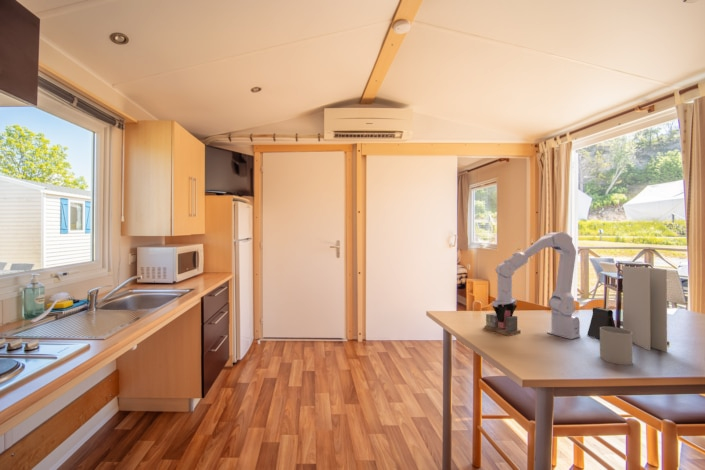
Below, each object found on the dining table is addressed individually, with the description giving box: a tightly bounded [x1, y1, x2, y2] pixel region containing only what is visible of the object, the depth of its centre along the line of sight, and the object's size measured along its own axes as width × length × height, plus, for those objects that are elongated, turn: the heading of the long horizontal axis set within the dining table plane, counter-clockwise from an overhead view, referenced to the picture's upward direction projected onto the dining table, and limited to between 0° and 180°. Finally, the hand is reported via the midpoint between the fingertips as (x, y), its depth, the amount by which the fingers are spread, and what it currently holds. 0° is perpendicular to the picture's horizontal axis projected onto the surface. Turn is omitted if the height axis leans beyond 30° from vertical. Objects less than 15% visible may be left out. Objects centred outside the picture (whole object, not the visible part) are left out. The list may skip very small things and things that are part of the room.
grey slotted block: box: [483, 312, 521, 337], centre depth 133 cm, size 12×8×7 cm, turn 29°
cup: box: [599, 326, 633, 366], centre depth 102 cm, size 8×8×10 cm
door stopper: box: [586, 306, 617, 340], centre depth 125 cm, size 9×6×12 cm, turn 104°
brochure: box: [622, 265, 668, 353], centre depth 116 cm, size 14×6×30 cm, turn 168°
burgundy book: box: [498, 310, 510, 328], centre depth 132 cm, size 2×5×7 cm, turn 119°
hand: (504, 321), depth 132 cm, fingers closed on burgundy book, 5 cm apart
